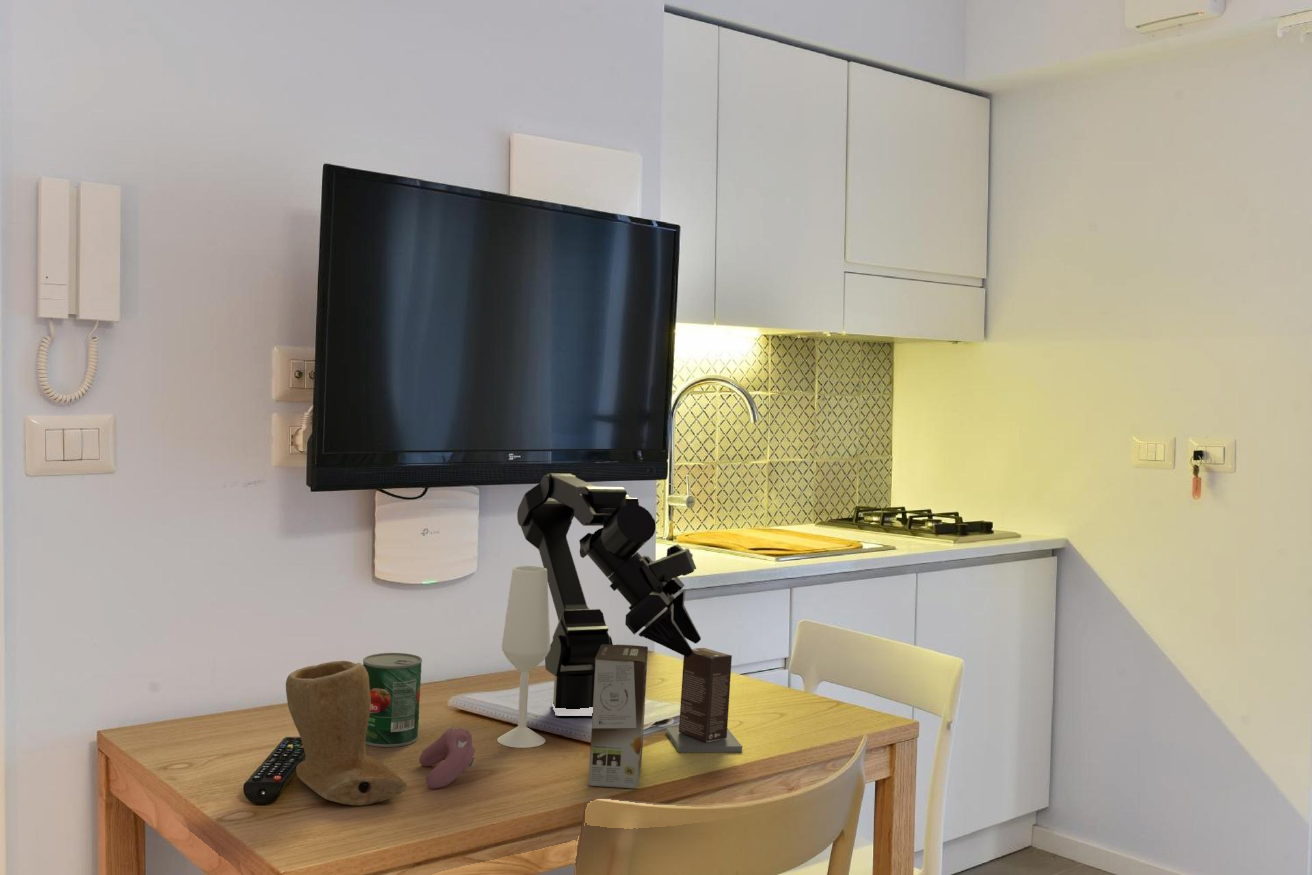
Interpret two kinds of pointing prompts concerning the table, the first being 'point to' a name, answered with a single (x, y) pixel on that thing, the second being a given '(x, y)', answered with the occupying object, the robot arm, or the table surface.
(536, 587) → the champagne flute
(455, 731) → the purple curved piece
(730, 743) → the slate pad
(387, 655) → the canned tomato
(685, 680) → the box
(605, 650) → the coffee box
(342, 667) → the brown boot
